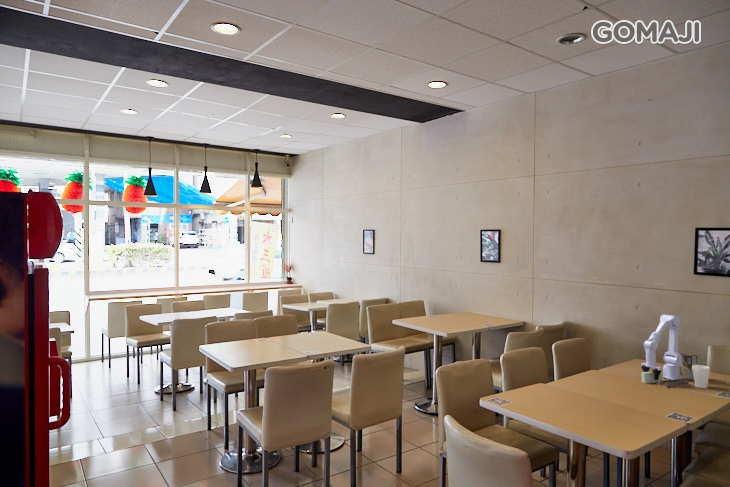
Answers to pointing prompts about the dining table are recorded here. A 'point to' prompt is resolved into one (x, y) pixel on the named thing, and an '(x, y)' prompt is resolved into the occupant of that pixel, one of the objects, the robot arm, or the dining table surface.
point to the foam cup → (701, 375)
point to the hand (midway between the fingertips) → (651, 378)
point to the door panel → (650, 377)
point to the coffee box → (687, 365)
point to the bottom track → (673, 383)
